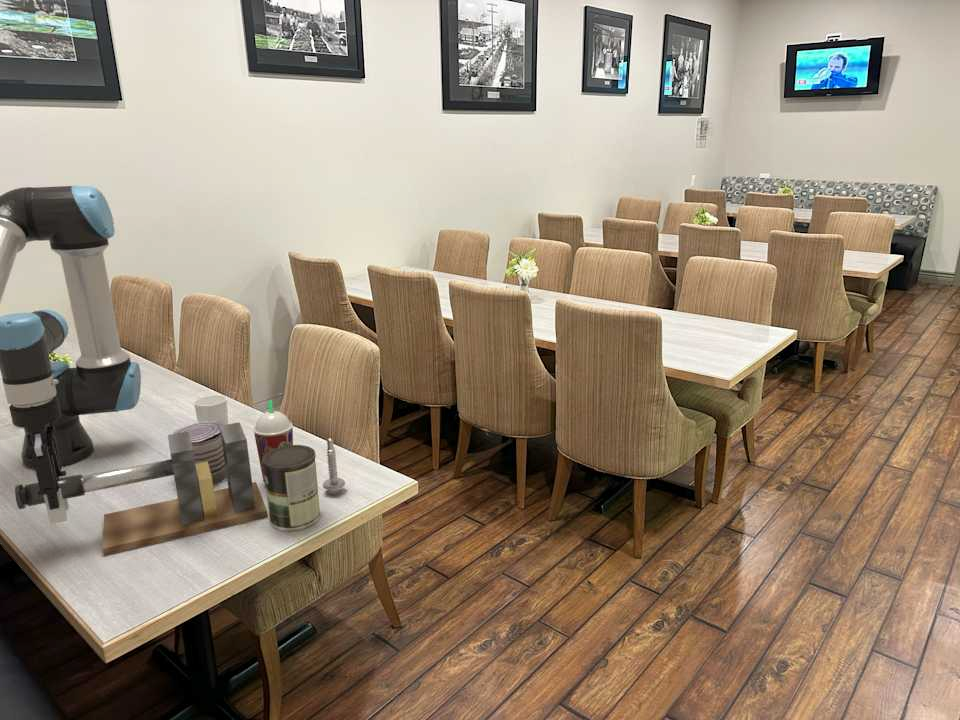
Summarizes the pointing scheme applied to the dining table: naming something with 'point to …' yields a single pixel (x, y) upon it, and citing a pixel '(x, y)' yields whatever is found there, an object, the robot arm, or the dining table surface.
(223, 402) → the white cup
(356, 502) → the dining table surface
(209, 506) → the collar
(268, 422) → the smoothie
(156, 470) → the shaft
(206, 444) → the can
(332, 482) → the screw
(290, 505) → the coffee can
